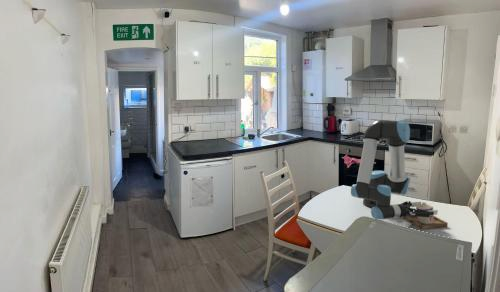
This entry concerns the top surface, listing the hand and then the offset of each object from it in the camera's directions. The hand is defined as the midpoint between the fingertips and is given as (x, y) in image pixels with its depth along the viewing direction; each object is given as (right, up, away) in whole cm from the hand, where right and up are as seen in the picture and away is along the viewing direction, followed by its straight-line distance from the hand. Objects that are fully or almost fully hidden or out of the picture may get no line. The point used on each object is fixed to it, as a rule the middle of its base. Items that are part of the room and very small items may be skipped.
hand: (428, 207), depth 209 cm
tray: (-2, -9, +1) cm, 9 cm away
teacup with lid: (-2, -8, -1) cm, 8 cm away
